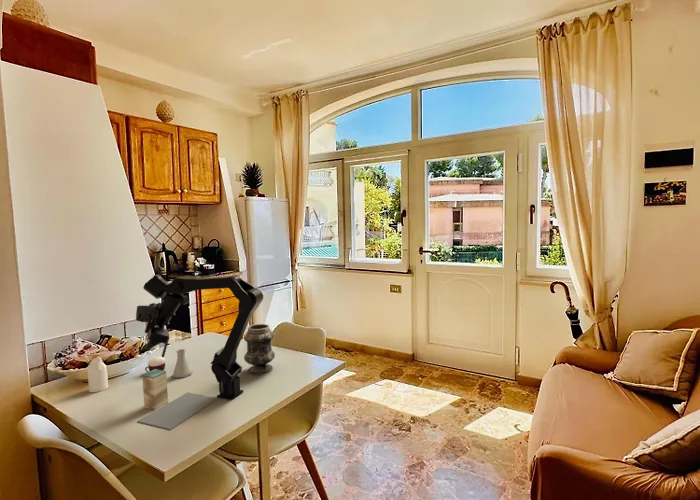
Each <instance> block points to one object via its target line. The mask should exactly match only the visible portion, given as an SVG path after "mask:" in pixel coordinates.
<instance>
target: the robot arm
mask: <svg viewBox="0 0 700 500" xmlns="http://www.w3.org/2000/svg"><path fill="white" fill-rule="evenodd" d="M142 288H143V290H144V291H146V292H147V293H149V295H151V296H152V297H154V298H155V299H156V300H157V299H162V300H161V302H157V303H155V302H152V303H149V304H148V305H137V306H136V312H135V320H136V321H137V322H140V323H146V326H145V329H144V333H145V334H147V339H148V340H147V343H146V345H145V348H144V349H145V350H148V351H149V350H151V349H152V348H154V347H156V346H157V345H160V344H164V345H165V344H166V343H167V342H168V343H169V340H170V333H169V330H168V329H165V326H166V327H169V326H170V320H171V319H172V318H175V316H176V312H177V310H178V309H179V307H180V306H181V305H182V306H184V305H186V304H189V303H190V301H189V299H188V298H189V297H188V295H184V294H187V293H191V292H194V291H201V290H215V289H216V290H217V289H228V290H230V292H231V293H232V295H233V296H234V297H235V298H236V299H237V300H238V301H239V302H238V307H237V308H238V309H237V310H238V312H237V313H238V314H237V316H236V317H235V321H234V324H233V325H232V328H231V330H230V332H229V335H228V337H227V340H226V341H225V345H224V347H222V348H220V349H219V350H218V351H216V352H215V353H214V356H213V359H212V361H211V362H209V363H210V365H211V366H210V369H211V371H212V373H213V374H214V377H215V379H216V382H217V383H218V389H219V394H217V395H216V398H221V399H225V400H230V401H232V400H235V398H237V397H238V396H240V395H241V394H242V393H244V389H243V390H242V389H241V378H240V376H239V375H240V374H241V373H242V371H243V366H241V364H239V362H238V361H237V357H238V356H237V355H238V353H237V351H238V348H239V346H240V344H241V341H242V339H243V338H244V335H245V333H246V330H247V328H248V325H249V322H250V319H252V318H251V317H252V316H253V315H254V313H255V312H256V310H257V309H258V308H259V306H260V305H261V303H262V302H263V300H264V294H263V292H262V291H261V290H260V289H259V288H258V287H255V286H253V285H252V284H251V283H249V282H247V281H246V280H244V279H243V278H242V277H240V276H239V275H236V274H234V275H228V276H227V275H226V276H214V277H213V276H212V277H211V276H210V277H209V276H208V277H198V276H196V275H195V276H193V275H183V276H179V277H176V278H173V279H172V281H171V282H168V281H167V280H166V279H164V278H163V277H162V276H161V275H160V274H159V273H157V274H154V275H153V277H151V278H150V279H149V280H148V281H146V282H145V283H144V285H143V287H142Z"/></svg>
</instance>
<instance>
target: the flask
mask: <svg viewBox="0 0 700 500" xmlns="http://www.w3.org/2000/svg"><path fill="white" fill-rule="evenodd" d="M186 352H187V351H186V349H185V348H181V349H177V350H176V354H177V359H176V362H175V366H174V369H173V372H172V376H171V377H172V378H178V379H179V378H186V377H188V376H191V375H192V373H193V372H194V371H193V370H192V367H191V365H190V364H189V360H188V359H187V356H186Z"/></svg>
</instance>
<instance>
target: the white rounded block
mask: <svg viewBox="0 0 700 500" xmlns="http://www.w3.org/2000/svg"><path fill="white" fill-rule="evenodd" d="M86 370H87V381H88V392H90V393H98V392H102V391H105V390H107V389H109V378H108V370H107V365H106V364H105V363H104V361H103V360H102V358H101V357H100V356H96V357H95V358H93V359H91V362H90V363H89V364H88V366H87V369H86ZM106 388H107V389H106Z"/></svg>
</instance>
